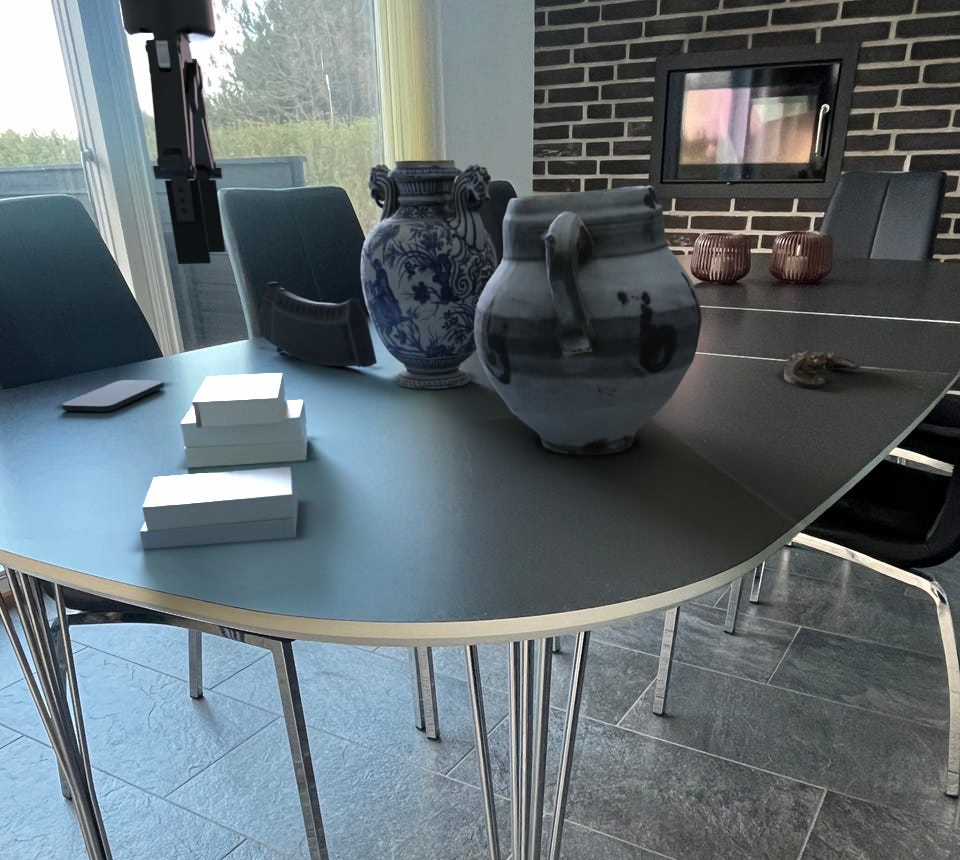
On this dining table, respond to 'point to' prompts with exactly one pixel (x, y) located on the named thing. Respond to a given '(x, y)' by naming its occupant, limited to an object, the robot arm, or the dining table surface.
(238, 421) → the white book
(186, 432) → the white books
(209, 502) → the white box
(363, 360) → the magazine
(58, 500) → the dining table surface
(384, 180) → the decorative vase
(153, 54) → the robot arm
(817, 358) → the seahorse
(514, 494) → the dining table surface
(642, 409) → the ceramic pot
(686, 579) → the dining table surface
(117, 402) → the phone
